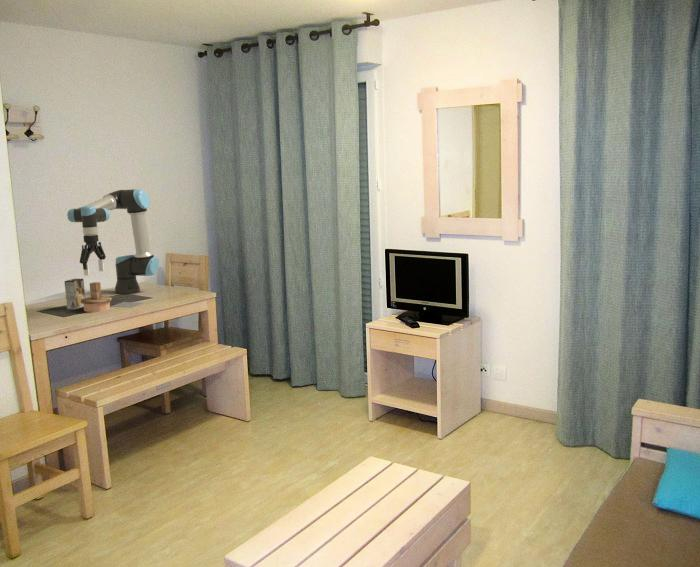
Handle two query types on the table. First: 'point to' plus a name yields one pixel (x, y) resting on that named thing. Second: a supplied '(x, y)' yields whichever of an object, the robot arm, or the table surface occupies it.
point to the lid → (96, 295)
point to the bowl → (97, 307)
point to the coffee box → (74, 293)
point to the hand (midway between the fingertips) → (94, 273)
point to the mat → (127, 304)
